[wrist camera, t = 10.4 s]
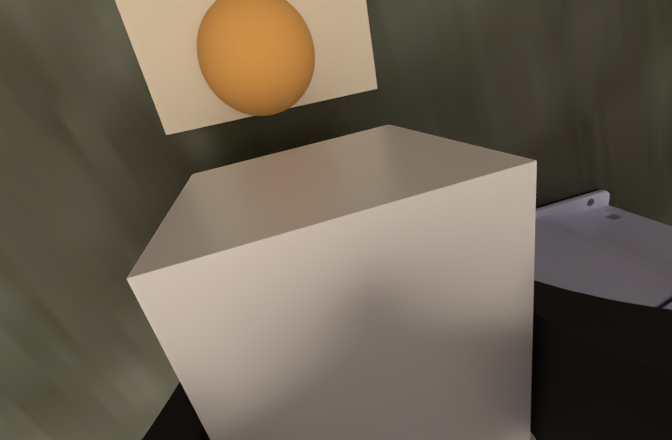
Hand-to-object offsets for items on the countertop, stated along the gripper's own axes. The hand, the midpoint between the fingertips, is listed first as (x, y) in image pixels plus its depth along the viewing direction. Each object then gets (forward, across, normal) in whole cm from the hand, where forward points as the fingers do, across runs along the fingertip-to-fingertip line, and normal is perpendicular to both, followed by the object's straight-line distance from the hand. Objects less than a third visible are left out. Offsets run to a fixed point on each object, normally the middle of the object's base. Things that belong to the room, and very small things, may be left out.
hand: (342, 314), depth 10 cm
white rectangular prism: (+2, 0, 0) cm, 2 cm away
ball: (+7, 0, -8) cm, 10 cm away
